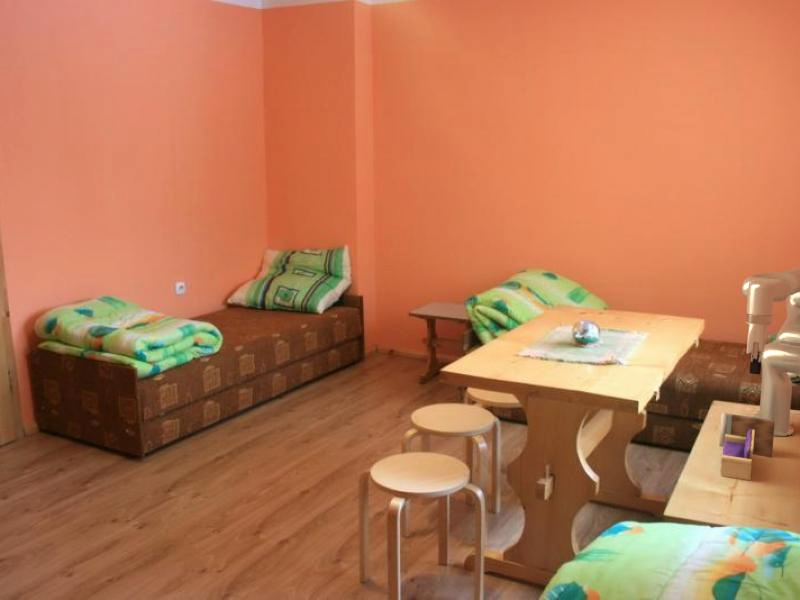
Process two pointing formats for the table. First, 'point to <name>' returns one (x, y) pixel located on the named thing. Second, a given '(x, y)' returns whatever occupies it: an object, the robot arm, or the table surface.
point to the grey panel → (727, 426)
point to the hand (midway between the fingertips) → (755, 373)
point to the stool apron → (761, 435)
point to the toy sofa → (737, 456)
